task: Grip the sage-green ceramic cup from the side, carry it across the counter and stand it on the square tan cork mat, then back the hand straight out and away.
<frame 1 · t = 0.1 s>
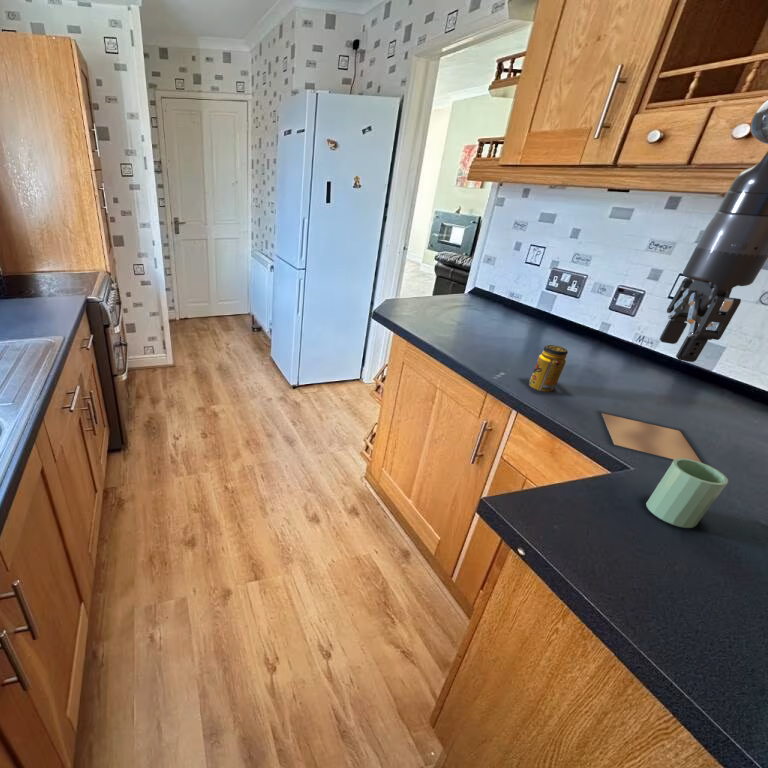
hand: (675, 350, 67), 27 cm above the counter, tool pointing down, fingers open, 8 cm apart
condiment: (543, 389, 113), on the counter
mat: (646, 439, 93), on the counter
cup: (669, 515, 72), on the counter
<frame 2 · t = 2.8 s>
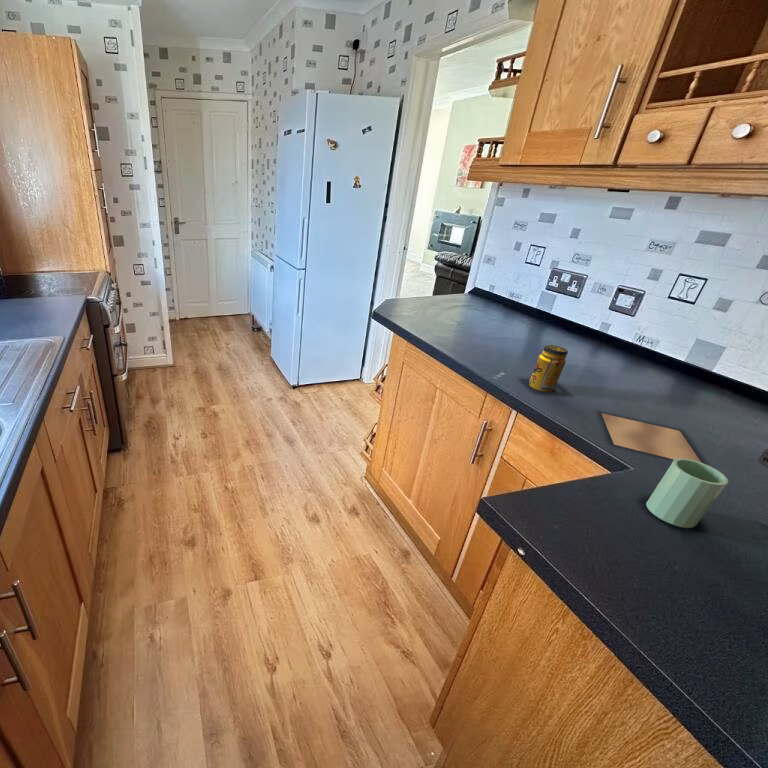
nothing on the counter moved.
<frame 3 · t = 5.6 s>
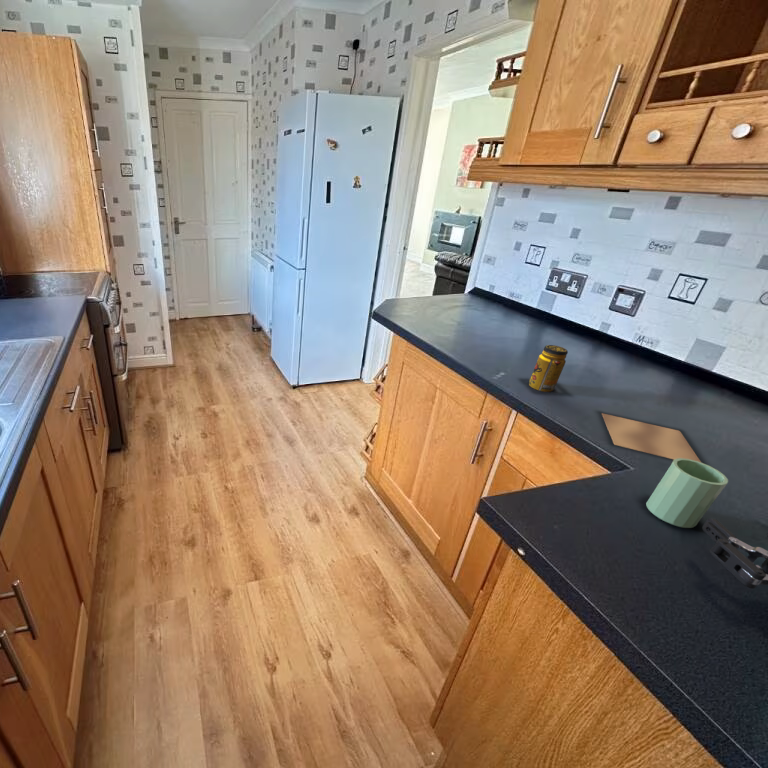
hand: (739, 526, 61), 7 cm above the counter, tool horizontal, fingers open, 8 cm apart
nothing on the counter moved.
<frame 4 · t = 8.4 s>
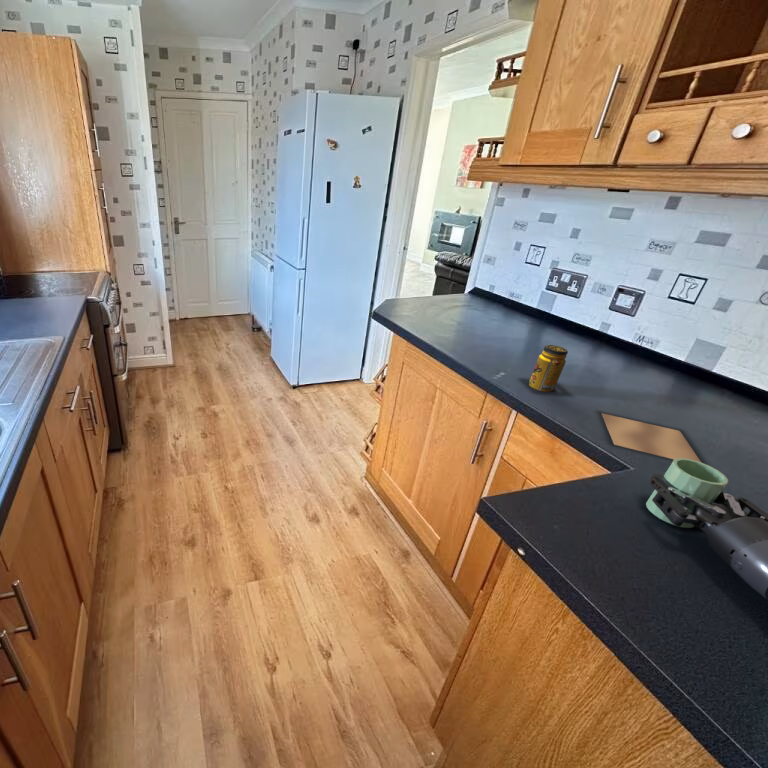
hand: (676, 480, 72), 6 cm above the counter, tool horizontal, fingers closed on cup, 6 cm apart
cup: (668, 515, 72), on the counter, touching gripper
everything else where it was.
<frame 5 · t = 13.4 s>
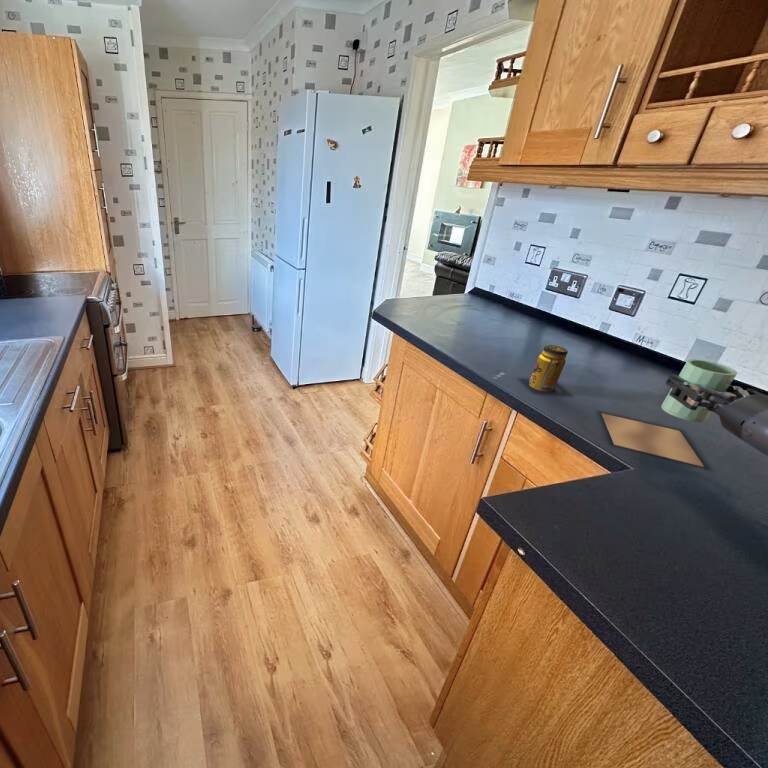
hand: (690, 380, 80), 18 cm above the counter, tool horizontal, fingers closed on cup, 6 cm apart
cup: (683, 413, 80), point 12 cm above the counter, touching gripper
everything else where it was.
when the fingers open (7 cm above the counter, at t = 18.4 s): cup stays where it is, resting on mat.
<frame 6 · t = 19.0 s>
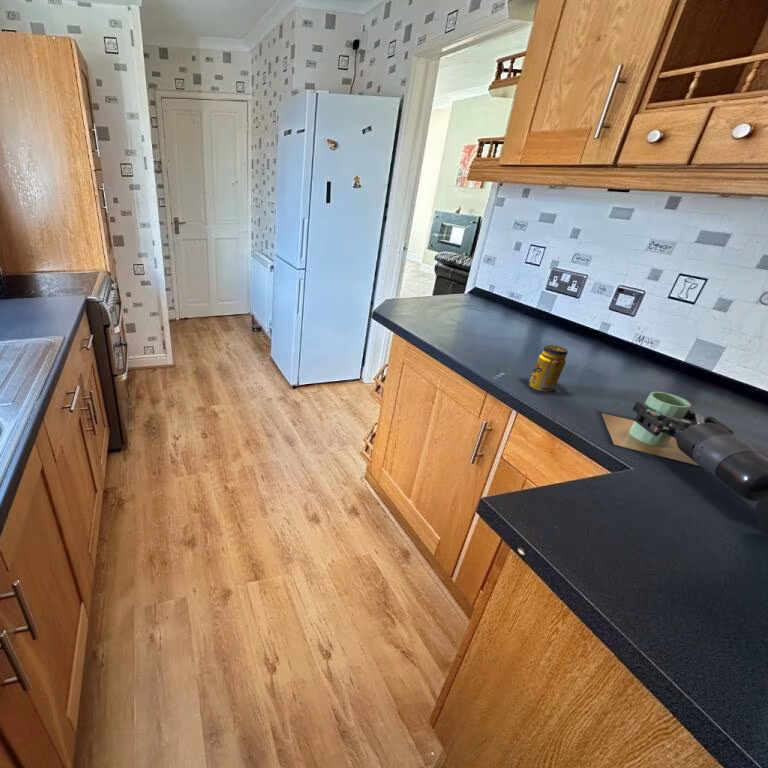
hand: (657, 407, 91), 7 cm above the counter, tool horizontal, fingers open, 8 cm apart
cup: (647, 437, 93), resting on mat
everything else where it was.
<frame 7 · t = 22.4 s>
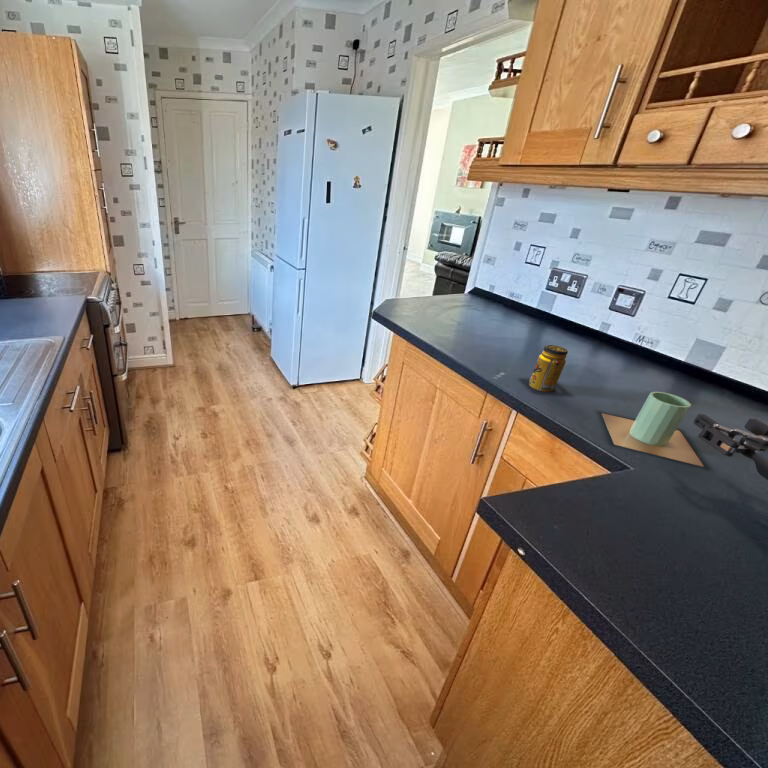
hand: (723, 420, 77), 13 cm above the counter, tool horizontal, fingers open, 8 cm apart
nothing on the counter moved.
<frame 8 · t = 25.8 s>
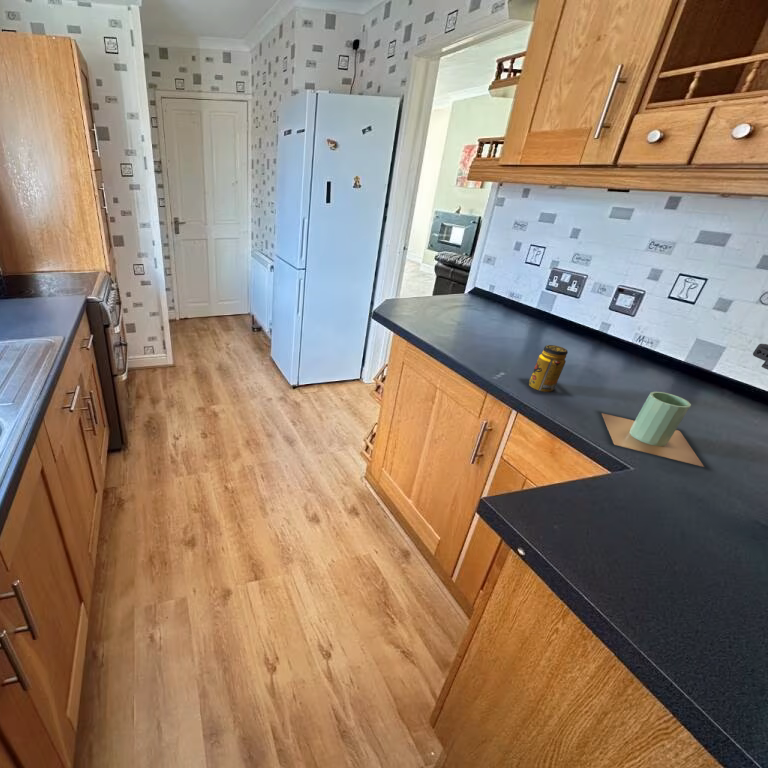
nothing on the counter moved.
at the end: cup inside the target area on the mat (0.1 cm from its centre), point 0.5 cm above the mat's base; cup tilted 0°; the gripper is holding nothing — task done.
